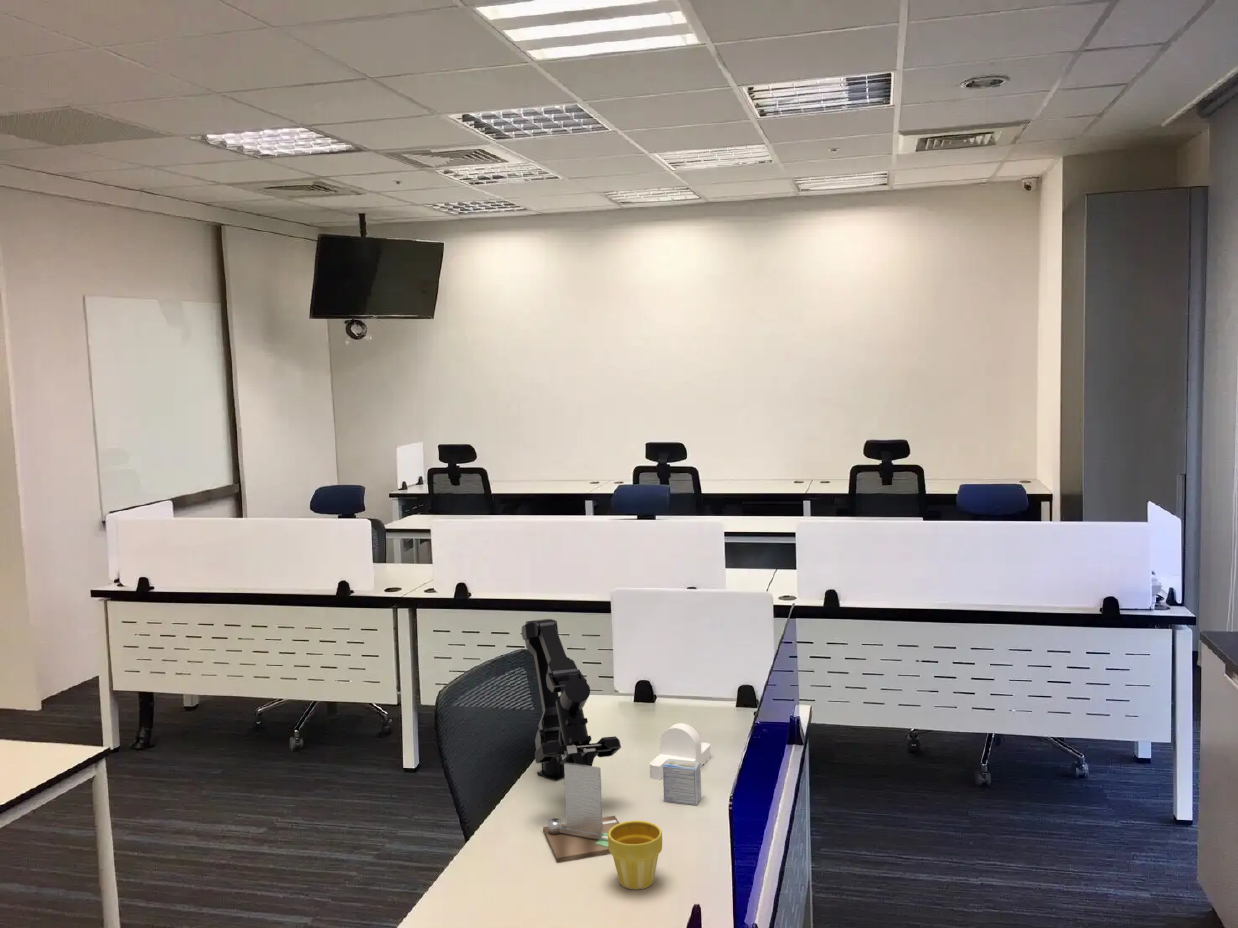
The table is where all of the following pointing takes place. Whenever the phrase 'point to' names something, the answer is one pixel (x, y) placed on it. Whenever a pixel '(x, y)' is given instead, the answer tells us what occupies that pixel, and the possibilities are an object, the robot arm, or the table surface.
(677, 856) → the table surface
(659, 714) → the table surface
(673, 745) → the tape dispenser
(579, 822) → the lever
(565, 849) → the board
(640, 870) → the plant pot
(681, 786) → the medicine box
